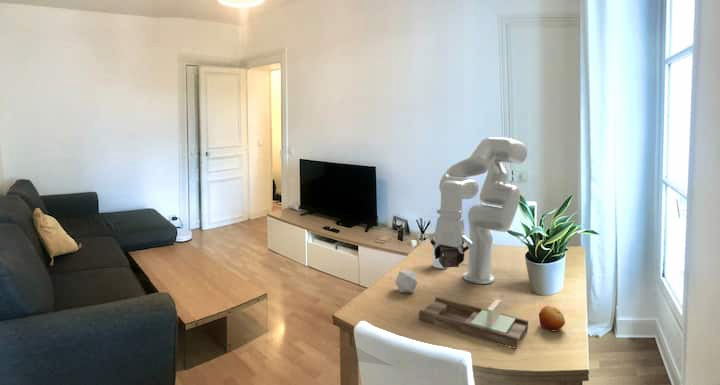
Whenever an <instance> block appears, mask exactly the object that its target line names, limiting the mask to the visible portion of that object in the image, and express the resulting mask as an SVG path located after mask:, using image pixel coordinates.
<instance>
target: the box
mask: <svg viewBox="0 0 720 385" xmlns="http://www.w3.org/2000/svg"><path fill="white" fill-rule="evenodd" d="M459 253H460V252H459V250H458V248H455V247H449V246H444V245H440V251H439V262H440V264H441V265H442V266H443V267H444V268H445V269H447V268H460V264H458V254H459ZM446 267H447V268H446Z"/></svg>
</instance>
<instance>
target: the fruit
mask: <svg viewBox="0 0 720 385" xmlns="http://www.w3.org/2000/svg"><path fill="white" fill-rule="evenodd" d="M538 318H539V319H538V320H539V324H540V325H539V326H541V327H542V328H545V329H546V330H548V329H549V330H548V331H552V330H557V331H559V330H560V329H562V327H564V325H565V323H566V319H565V316H564V314H563V312H561V310H559V309H558V308H557V307H555V306H551V305H546V306H544V307H542V308H541V310H540V312H539V314H538Z"/></svg>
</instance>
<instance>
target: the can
mask: <svg viewBox="0 0 720 385" xmlns="http://www.w3.org/2000/svg"><path fill="white" fill-rule="evenodd" d="M432 246H433V245H432ZM432 250H433V251H432V266H433V267H434V268H436V269H437V270H438V269H440V270H443V269H447V268H448V267H446V268H444V267H443V266H442V265H441V264H440V262H439V258H438V259H435V248H434V246H433V248H432Z"/></svg>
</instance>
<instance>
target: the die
mask: <svg viewBox="0 0 720 385" xmlns="http://www.w3.org/2000/svg"><path fill="white" fill-rule="evenodd" d="M394 282H395V285H396V287H397V289H398V291H399V293H403V294H404V293H406V294H407V293H408V294H409V293H412V294H414V291H415V289H416V287H417V285H418V283H419V282H418V279H417V277H416V275H415V273H414V271H413V270H399V272H398V273H397V276H396V279H395V281H394Z"/></svg>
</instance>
